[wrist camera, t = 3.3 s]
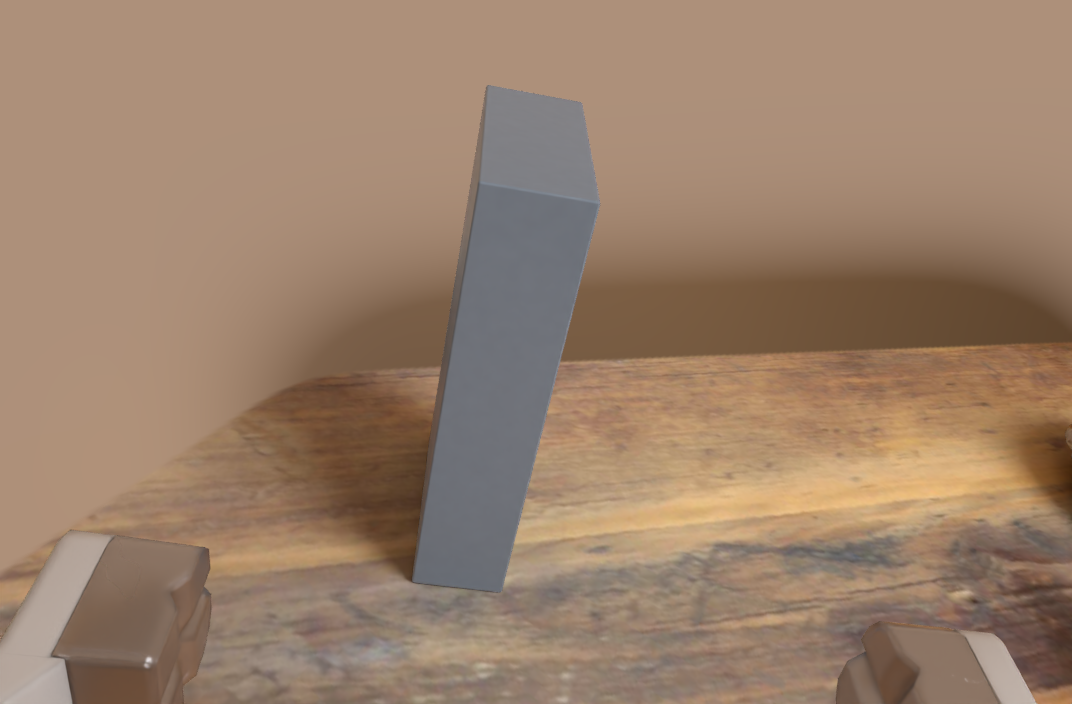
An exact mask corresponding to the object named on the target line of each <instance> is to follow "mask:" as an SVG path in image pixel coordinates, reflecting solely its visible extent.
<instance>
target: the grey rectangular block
mask: <svg viewBox="0 0 1072 704" xmlns="http://www.w3.org/2000/svg"><path fill="white" fill-rule="evenodd" d="M599 207H600V200H599V194H598V189H597V183H596V177H595V172H594V166H593V162H592V156H591V150H590V144H589V139H588V133H587V128H586V122H585V117H584V111H583V105H582V103H581V102H577V101H572V100H566V99H561V98H555V97H550V96H544V95H539V94H534V93H528V92H523V91H517V90H512V89H506V88H501V87H495V86H490V85H488V86H487V87H486V91H485V97H484V104H483V110H482V116H481V122H480V128H479V135H478V141H477V147H476V153H475V160H474V166H473V173H472V178H471V184H470V190H469V197H468V203H467V209H466V216H465V222H464V228H463V235H462V240H461V246H460V253H459V259H458V265H457V271H456V277H455V284H454V290H453V296H452V302H451V309H450V315H449V322H448V327H447V333H446V340H445V346H444V353H443V358H442V364H441V371H440V377H439V383H438V389H437V395H436V402H435V408H434V414H433V420H432V426H431V433H430V439H429V446H428V454H427V462H426V470H425V478H424V486H423V495H422V503H421V511H420V519H419V527H418V535H417V543H416V551H415V559H414V567H413V575H412V582H413V583H421V584H430V585H439V586H448V587H456V588H465V589H474V590H483V591H492V592H501V591H502V588H503V584H504V580H505V576H506V572H507V568H508V564H509V560H510V557H511V553H512V549H513V545H514V541H515V537H516V533H517V529H518V525H519V521H520V517H521V513H522V509H523V505H524V502H525V498H526V494H527V490H528V486H529V482H530V478H531V474H532V470H533V466H534V462H535V458H536V454H537V450H538V446H539V443H540V439H541V435H542V431H543V427H544V423H545V419H546V415H547V411H548V407H549V403H550V399H551V395H552V391H553V387H554V384H555V380H556V376H557V372H558V368H559V364H560V360H561V356H562V352H563V348H564V344H565V340H566V336H567V332H568V328H569V324H570V321H571V317H572V313H573V309H574V305H575V301H576V297H577V293H578V289H579V285H580V281H581V277H582V273H583V270H584V265H585V261H586V258H587V253H588V250H589V246H590V242H591V238H592V234H593V230H594V226H595V222H596V218H597V214H598V211H599Z"/></svg>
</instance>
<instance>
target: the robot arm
mask: <svg viewBox="0 0 1072 704" xmlns="http://www.w3.org/2000/svg"><path fill="white" fill-rule="evenodd" d="M209 571H210V557H209V549H208V548H205V547H199V546H191V545H184V544H177V543H169V542H162V541H155V540H147V539H140V538H133V537H126V536H118V535H117V536H116V535H108V534H100V533H92V532H84V531H76V530H70V531H68V532H67V533H66V534H65V535H64V536H63V537H62V538H61V539H60V540H59V541H58V542H57V544H56V545H55V547H54V549H53V551H52V552H51V554H50V556H49V557H48V559H47V561H46V563H45V564H44V566H43V568H42V570H41V571H40V573H39V575H38V576H37V578H36V580H35V582H34V583H33V585H32V587H31V588H30V590H29V592H28V594H27V595H26V597H25V599H24V601H23V602H22V604H21V606H20V607H19V609H18V611H17V613H16V614H15V616H14V618H13V620H12V621H11V623H10V625H9V626H8V628H7V630H6V632H5V633H4V635H3V637H2V638H1V640H0V704H184V695H183V686H184V685H185V684H186V683H187V682H189V681H190V680H191V679H192V678H194V677H195V676H196V675H197V672H198V669H199V666H200V663H201V660H202V657H203V654H204V650H205V645H206V641H207V636H208V632H209V628H210V618H211V594H210V593H209V592H208V590H207V589H206V588H205V587H204V585H205V582H206V579H207V576H208V574H209ZM861 641H862V643H863V646H864V649H865V652H864V653H862V654H860V655H858V656H856V657H854V658H853V659H851V660H849V661H847V663H846V665H845V667H844V669H843V670H842V672H841V674H840V676H839V678H838V683H837V691H836V704H1037V703H1036V701H1035V700H1034V698H1033V696H1032V694H1031V692H1030V690H1029V689H1028V687H1027V685H1026V683H1025V681H1024V680H1023V678H1022V676H1021V674H1020V672H1019V670H1018V669H1017V667H1016V665H1015V663H1014V661H1013V659H1012V658H1011V656H1010V654H1009V652H1008V650H1007V648H1006V647H1005V645H1004V643H1003V642H1002V641H1001V640H1000V639H999V638H998V637H997V636H995V635H994V634H992V633H983V632H974V631H965V630H956V629H955V630H951V629H949V628H943V627H933V626H922V625H912V624H902V623H892V622H881V621H879V622H877V623H875V624H873V625H871V626H869V628H868V629H867V631H866V632H865V634H864V635H863V637H862V639H861Z"/></svg>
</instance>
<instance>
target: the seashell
mask: <svg viewBox="0 0 1072 704" xmlns="http://www.w3.org/2000/svg"><path fill="white" fill-rule="evenodd" d="M1065 437H1066V442H1067V444H1068V446H1069V447H1070V449H1071V450H1072V424H1071V425H1069V427H1068V429H1067V430H1066V432H1065ZM1071 458H1072V455H1071Z"/></svg>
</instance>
